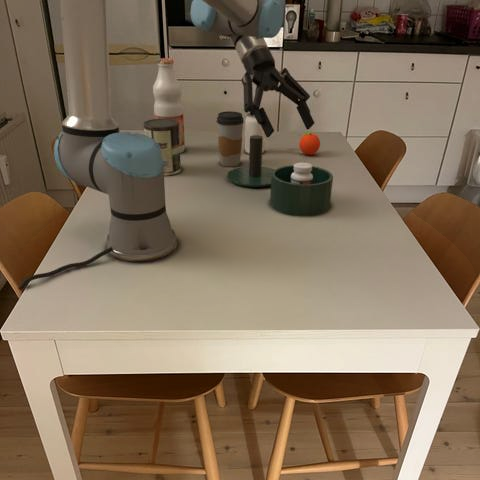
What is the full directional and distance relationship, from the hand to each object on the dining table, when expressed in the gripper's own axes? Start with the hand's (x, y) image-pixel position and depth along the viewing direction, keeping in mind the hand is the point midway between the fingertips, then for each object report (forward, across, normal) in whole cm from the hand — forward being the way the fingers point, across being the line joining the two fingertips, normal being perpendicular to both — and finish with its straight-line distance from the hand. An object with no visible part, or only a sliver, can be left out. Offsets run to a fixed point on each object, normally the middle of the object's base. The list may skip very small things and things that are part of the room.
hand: (291, 130), depth 129 cm
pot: (+16, 0, +9) cm, 19 cm away
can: (-14, +19, +40) cm, 47 cm away
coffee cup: (-11, +5, +36) cm, 38 cm away
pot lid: (0, +3, +24) cm, 25 cm away
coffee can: (-15, -15, +41) cm, 46 cm away
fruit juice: (-26, -3, +52) cm, 59 cm away
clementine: (-6, +32, +31) cm, 45 cm away
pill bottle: (+16, 0, +9) cm, 18 cm away
